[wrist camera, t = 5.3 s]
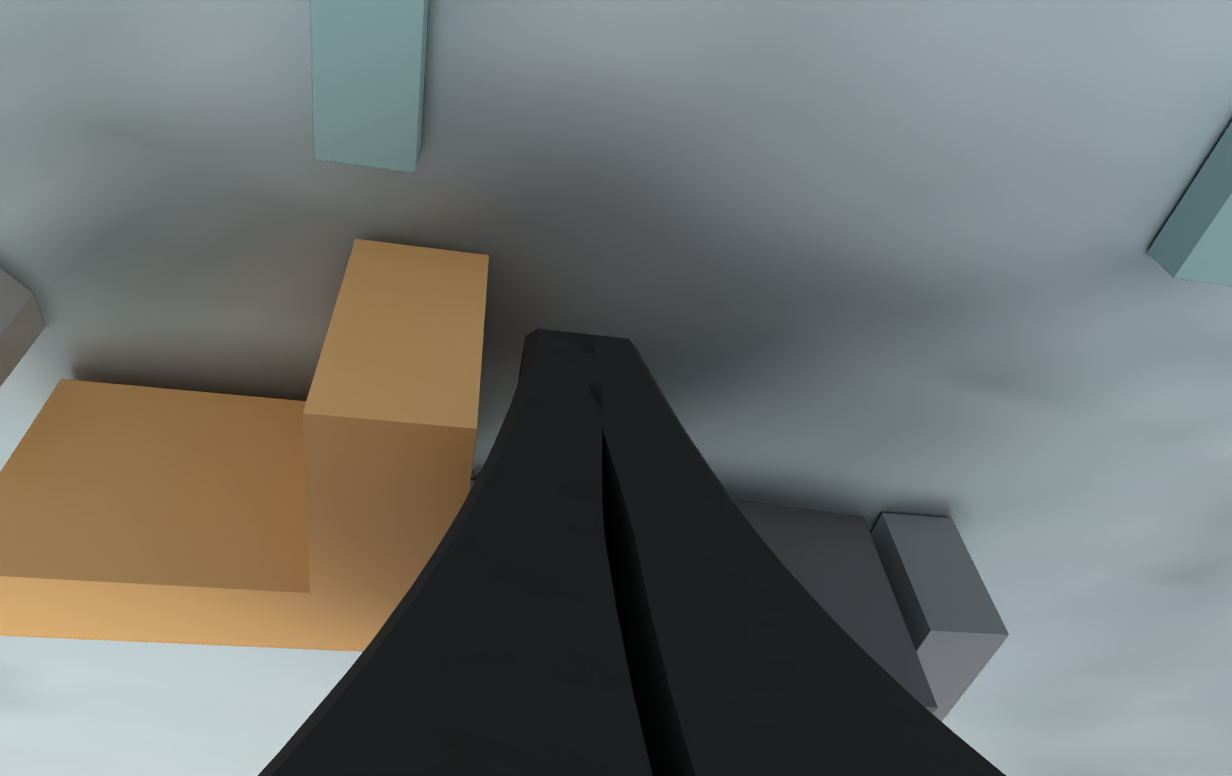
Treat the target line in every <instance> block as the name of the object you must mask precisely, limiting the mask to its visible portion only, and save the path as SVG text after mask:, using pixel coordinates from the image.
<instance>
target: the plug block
mask: <svg viewBox="0 0 1232 776" xmlns="http://www.w3.org/2000/svg"><path fill="white" fill-rule="evenodd" d="M733 501H734V502H735V504H736V505H737V506H738V508H739V509H740V510H741V512H742V513H743V514H744V515H745V517H746V518H747V519H748V521H749V522H750V523H751V525H752V526H753V527H754V528H755V530H756V531H757V532H758V534H759V535H760V536H761V538H762V539H763V540H764V541H765V543H766V544H767V545H768V546H769V548H770V549H771V550H772V551H773V552H774V554H775V555H776V556H777V557H778V559H779V560H780V561H781V562H782V563H783V565H784V566H785V567H786V568H787V569H788V570H789V572H790V573H791V574H792V575H793V576H794V577H795V578H796V579H797V580H798V581H799V583H800V584H801V585H802V586H803V587H804V588H805V589H806V590H807V591H808V593H809V594H810V595H811V596H812V597H813V598H814V599H815V600H816V601H817V602H818V604H819V605H820V606H821V607H822V608H823V609H824V610H825V611H826V612H827V613H828V615H829V616H830V617H831V618H832V619H833V620H834V621H835V622H836V623H837V624H838V625H839V626H840V627H841V628H842V629H843V630H844V631H845V632H846V633H847V634H848V635H849V636H850V637H851V638H852V639H853V640H854V641H855V642H856V643H857V644H858V645H859V646H860V647H861V648H862V649H863V650H864V651H865V652H866V653H867V654H869V655H870V656H871V657H872V658H873V659H874V660H875V661H876V662H877V663H878V664H879V665H880V666H881V667H882V668H883V669H884V670H885V671H886V672H888V673H889V674H890V675H891V676H892V677H893V678H894V679H895V680H896V681H897V682H898V683H899V684H900V685H901V686H902V687H903V688H904V689H905V690H907V691H908V692H909V693H910V694H911V695H912V696H913V697H914V698H915V699H916V700H917V701H918V702H920V703H921V704H922V705H923V706H924V707H925V708H926V709H927V710H929V711H930V712H931V713H932V714H933V713H934V712H935V710H936V709H937V708H938V706H937V704H936V701H935V699H934V696H933V694H932V691H931V688H930V686H929V683H928V681H927V678H926V676H925V673H924V670H923V668H922V665H921V663H920V660H919V658H918V655H917V652H916V650H915V647H914V645H913V642H912V640H911V637H910V634H909V632H908V629H907V627H906V624H905V622H904V619H903V616H902V614H901V611H900V609H899V606H898V604H897V601H896V599H895V596H894V593H893V591H892V588H891V586H890V583H889V581H888V578H887V575H886V573H885V570H884V568H883V565H882V563H881V560H880V557H879V555H878V552H877V550H876V547H875V545H874V542H873V539H872V537H871V534H870V532H869V529H868V527H867V524H866V521H865V519H864V517H860V516H853V515H845V514H838V513H831V512H823V511H816V510H808V509H801V508H794V507H786V506H779V505H771V504H764V503H757V502H749V501H742V500H734V499H733Z"/></svg>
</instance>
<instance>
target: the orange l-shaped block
mask: <svg viewBox="0 0 1232 776" xmlns="http://www.w3.org/2000/svg"><path fill="white" fill-rule="evenodd" d="M488 262H489V255H484V254H475V253H467V252H459V251H451V250H443V249H435V248H427V247H419V246H411V245H403V244H395V243H387V242H379V241H371V240H362V239H355V242H354V245H353V248H352V251H351V255H350V258H349V261H348V265H347V268H346V271H345V275H344V278H343V281H342V285H341V288H340V291H339V295H338V298H337V301H336V305H335V308H334V311H333V314H332V318H331V321H330V324H329V328H328V331H327V334H326V338H325V341H324V344H323V348H322V351H321V354H320V358H319V361H318V364H317V368H316V371H315V374H314V377H313V381H312V384H311V387H310V391H309V394H308V397H307V401H297V400H286V399H275V398H264V397H253V396H242V395H231V394H220V393H209V392H198V391H187V390H176V389H165V388H154V387H144V386H133V385H122V384H111V383H100V382H89V381H78V380H67V379H61V380H60V382H59V383H58V385H57V386H56V388H55V389H54V391H53V392H52V394H51V395H50V397H49V398H48V400H47V402H46V403H45V405H44V406H43V408H42V409H41V411H40V412H39V414H38V415H37V417H36V418H35V420H34V421H33V423H32V425H31V426H30V428H29V429H28V431H27V432H26V434H25V435H24V437H23V438H22V440H21V441H20V443H19V444H18V446H17V448H16V449H15V451H14V452H13V454H12V455H11V457H10V458H9V460H8V461H7V463H6V464H5V466H4V467H3V469H2V471H1V472H0V636H21V637H43V638H66V639H89V640H111V641H134V642H157V643H180V644H202V645H225V646H248V647H270V648H293V649H316V650H339V651H361V652H363V651H364V650H365V649H366V647H367V646H368V645H369V644H370V642H371V641H372V640H373V638H374V637H375V636H376V634H377V633H378V632H379V630H380V629H381V628H382V626H383V625H384V623H385V622H386V621H387V619H388V618H389V617H390V615H391V614H392V612H393V611H394V610H395V608H396V607H397V605H398V604H399V603H400V601H401V600H402V599H403V597H404V596H405V594H406V593H407V592H408V590H409V589H410V588H411V586H412V585H413V583H414V582H415V580H416V579H417V577H418V576H419V574H420V573H421V571H422V570H423V568H424V567H425V565H426V564H427V562H428V561H429V559H430V558H431V556H432V555H433V553H434V552H435V550H436V548H437V547H438V545H439V544H440V542H441V540H442V539H443V537H444V536H445V534H446V532H447V531H448V529H449V527H450V526H451V524H452V522H453V521H454V519H455V517H456V516H457V514H458V512H459V510H460V509H461V507H462V505H463V503H464V501H465V499H466V497H467V496H468V494H469V490H470V482H471V474H472V466H473V457H474V449H475V441H476V433H477V422H478V407H479V393H480V378H481V364H482V349H483V335H484V320H485V306H486V291H487V277H488Z"/></svg>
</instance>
